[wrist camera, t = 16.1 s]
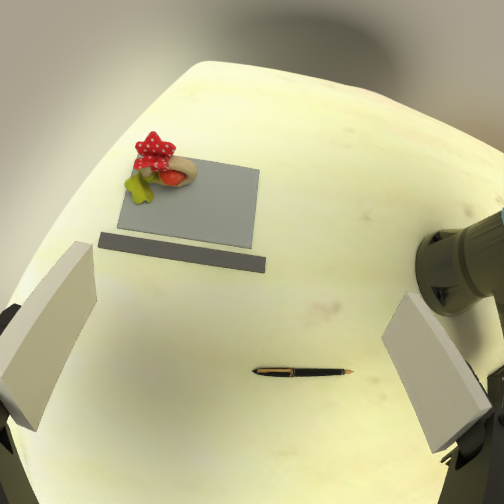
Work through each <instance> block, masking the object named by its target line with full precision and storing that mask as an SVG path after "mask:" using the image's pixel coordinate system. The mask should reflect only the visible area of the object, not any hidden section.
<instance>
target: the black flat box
mask: <svg viewBox="0 0 504 504" xmlns="http://www.w3.org/2000/svg"><path fill="white" fill-rule="evenodd" d="M487 381H488V396H489V398H490V400H491V402H492V403H493V405H494V407H495V408H496V410H497V409H498V408H503V409H504V366H502V367H501V368H499V369H498V370H497V371H495V372H494V373H492V374H491V375H490V376H488V377H487Z"/></svg>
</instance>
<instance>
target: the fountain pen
mask: <svg viewBox="0 0 504 504" xmlns="http://www.w3.org/2000/svg"><path fill="white" fill-rule="evenodd" d="M252 372H254V373H255V374H258V375H264V376H274V377H310V376H331V375H344V374H345V373H346V374H349V373H351V372H354V371H351V370H344V369H294V368H262V369H256V370H254V371H252Z"/></svg>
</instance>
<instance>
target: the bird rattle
mask: <svg viewBox="0 0 504 504" xmlns="http://www.w3.org/2000/svg"><path fill="white" fill-rule="evenodd" d="M135 148H136V150H137V152H138V153H139V154H140V155H141V156H143V157H142V158H141V157H139V158H138V159H136V160H135V162H134V166H133V167H134V169H136V170H137V171H138V172H137V173H136V174H135V175H133V176H132V177H131V178H129V179H128V180H126V181H125V187H126V189H127V190H128V191H130V192H131V193H132V199H133V202H135V203H136V204H140V203H142V202H143V201H147V202H149V203H150V202H152V200H153V198H154V194H153V192H152V190H151V188H150V186H149V184H148V182H149V183H156V184H160V185H165V186H175V187H179V188H180V187H182V186H183V185H186V184H189V183H191V182H193V181H194V180H195V179H196V177H197V173H198V169H197V166H196V165H195V164H194V163H193V162H192V161H190V160H188V159H186V158H183V157H179V156H174V155H173V153H174V151H175V149H176V147H175V146H174V145H173V144H172V143H170V142H163V141H162V140H161V139H160V137H159V136H158V134H157V133H156V132H154V131H152V132H150V133H149V135H148V136H147V138H146V139H145V141H144V142H137V143H136V145H135Z"/></svg>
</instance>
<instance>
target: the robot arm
mask: <svg viewBox="0 0 504 504" xmlns="http://www.w3.org/2000/svg"><path fill="white" fill-rule="evenodd" d="M416 275H417V280H418V284H419V288H420V290H421V293H422V295H423V297H424V299H425V301H426V302H427V304H428V305H429V306H430V307H431V308H432V309H433V310H434V311H435V312H436V313H438V314H440V315H443V316H452V315H458V314H461V313H463V312H465V311H466V310H468V309H469V308H470V307H472V306H473V305H475V304H476V303H477V302H479V301H480V300H481V299H483V298H485V297H489V296H494V299H495V302H496V306H497V310H498V314H499V319H500V323H501V327H502V332H503V337H504V208H503V209H502V210H501V211H499V212H497V213H495V214H493V215H491V216H489V217H487V218H485V219H483V220H481V221H479V222H477V223H475V224H473V225H471V226H469V227H467V228H465V229H445V230H439V231H436V232H434V233H432V234H430V235H428V236H427V237H426V238H425V239H424V240H423V241H422V242H421V244H420V246H419V249H418V252H417V257H416ZM96 302H97V297H96V288H95V277H94V264H93V248H92V244H88V243H83V242H77V241H75V242H74V243H73V245H72V246H71V247H70V248H69V249H68V250H67V251H66V252H65V253H64V255H63V256H62V257H61V258H60V259H59V260H58V262H57V263H56V264H55V265H54V266H53V267H52V269H51V270H50V271H49V272H48V273H47V275H46V276H45V277H44V278H43V279H42V281H41V282H40V283H39V284H38V286H37V287H36V288H35V289H34V291H33V292H32V293H31V295H30V296H29V297H28V298H27V300H26V301H25V302H24V304H23V305H22V306H21V305H18V304H13V305H11V306H10V307H8V308H7V309H5V310H4V311H3V312H2V313H1V314H0V504H39V502H38V500H37V498H36V496H35V494H34V492H33V490H32V487H31V485H30V483H29V480H28V478H27V476H26V473H25V471H24V468H23V466H22V463H21V461H20V458H19V455H18V452H17V450H16V447H15V444H14V441H13V438H12V435H11V431H10V428H9V426H8V424H7V419H8V417H9V415H11V417H12V418H13V420H14V421H15V422H16V424H18V425H20V426H23V427H25V428H27V429H29V430H32V431H34V432H36V431H37V429H38V426H39V423H40V421H41V418H42V416H43V413H44V411H45V408H46V406H47V403H48V401H49V398H50V396H51V394H52V391H53V389H54V387H55V384H56V382H57V380H58V378H59V376H60V373H61V371H62V369H63V367H64V365H65V363H66V360H67V358H68V356H69V354H70V352H71V350H72V348H73V346H74V344H75V342H76V340H77V338H78V336H79V334H80V332H81V330H82V328H83V326H84V324H85V322H86V320H87V319H88V317H89V315H90V313H91V311H92V309H93V307H94V306H95V304H96ZM427 304H426V303H425V302H424V300H423V299H422V298H421V296H420V295H419V294H418V293H411V292H406V293H405V295H404V297H403V299H402V301H401V303H400V304H399V306H398V308H397V310H396V312H395V314H394V316H393V317H392V319H391V321H390V323H389V325H388V326H387V328H386V330H385V332H384V333H383V335H382V337H381V339H382V341H383V343H384V345H385V347H386V349H387V351H388V353H389V355H390V357H391V359H392V361H393V363H394V366H395V368H396V370H397V372H398V374H399V376H400V378H401V381H402V383H403V385H404V387H405V389H406V392H407V394H408V396H409V398H410V401H411V403H412V405H413V408H414V410H415V412H416V415H417V417H418V419H419V422H420V424H421V427H422V429H423V432H424V434H425V436H426V439H427V441H428V444H429V447H430V449H431V452H432V454H433V453H436V452H440V451H443V450H446V449H447V448H448V447H449V446H451V445H452V444H453V443H454V442H455V441H456V442H457V445H458V446H457V447H456V448H454V449H453V450H452V451H451V452H450V453H448V454H447V455H446V456H445V457H443V458H442V460H441V463H443V462H444V461H446V460H447V459H448V458H449V457H451V459H450V460H449V461H448V462H447V463H446V465H448V466H449V468H448V471H447V475H446V478H445V482H444V485H443V488H442V492H441V495H440V498H439V501H438V504H504V409H503V408H498V409H497V410H496V408H495V407H494V405H493V403H492V402H491V400H490V398H489V396H488V394H487V393H486V391H485V389H484V388H483V386H482V384H481V383H480V382H479V379H478V378H477V376H476V375H475V373H474V371H473V369H472V368H471V366H470V365H469V363H468V362H467V361H466V360H465V359H464V358H463V357H462V355H461V354H460V352H459V351H458V349H457V348H456V346H455V345H454V343H453V342H452V340H451V339H450V337H449V336H448V334H447V333H446V331H445V330H444V328H443V327H442V325H441V324H440V323H439V321H438V320H437V318H436V317H435V316H434V314H433V313H432V311H431V310H430V309H429V307H428V306H427Z"/></svg>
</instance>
